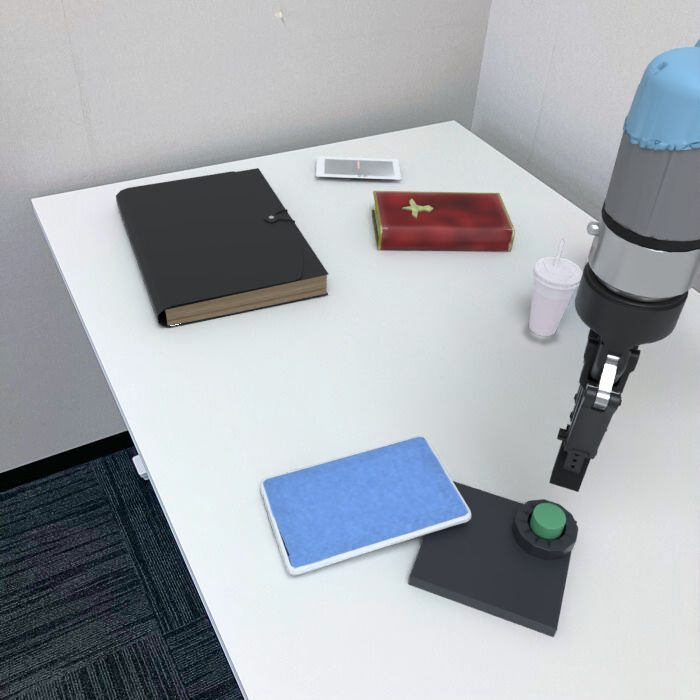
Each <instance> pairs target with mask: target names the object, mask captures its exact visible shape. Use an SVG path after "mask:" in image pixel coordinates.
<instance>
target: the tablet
mask: <svg viewBox="0 0 700 700" xmlns="http://www.w3.org/2000/svg"><path fill="white" fill-rule="evenodd" d="M453 481H454V480H453V479H452V478H451V476H450V474H449V473H448V471H447V469H446V467H445V466H444V465H443V463H442V461H441V460H440V458H439V456H438V454H437V453H436V451H435V449H434V448H433V446H432V444H431V443H430V441H429V439H428V438H426V437H425V436H422V435H417V436H413V437H409V438H405V439H402V440H399V441H395V442H392V443H388V444H385V445H381V446H377V447H374V448H369V449H367V450H363V451H359V452H356V453H351V454H348V455H344V456H342V457H341V456H340V457H337V458H333V459H330V460H326V461H324V462H320V463H316V464H312V465H308V466H306V467H302V468H298V469H294V470H291V471H287V472H284V473H280V474H276V475H273V476H269V477H266V478H264V479H262V480H261V482H260V483H259V491H260V495H261V498H262V500H263V504H264V507H265V511H266V513H267V516H268V519H269V522H270V525H271V528H272V531H273V535H274V537H275V541H276V543H277V546H278V549H279V552H280V555H281V558H282V561H283V565H284V567H285V569H286V572H287V573H288V574H289V575H290V576H294V577H295V576H301V575H303V574H307V573H310V572H313V571H315V570H318V569H322V568H324V567H327V566H330V565H334V564H335V563H339V562H343V561H345V560H349V559H352V558H355V557H359V556H361V555H364V554H367V553H370V552H374V551H376V550H381V549H383V548H387V547H390V546H394V545H397V544H400V543H403V542H406V541H409V540H413V539H415V538H416V539H417V538H419V537H423V536H425V534H429V533H432V532H435V531H439V530H442V529H445V528H448V527H451V526H455V525H459V524H462V523H465V522H468V521H469V520H470V519H471V511H470V509H469V507H468V506H467V504H466V502H465V501H464V499H463V497H462V496H461V494H460V492H459V491H458V489H457V488H456V486H455V484H454V483H453Z"/></svg>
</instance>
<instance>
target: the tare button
mask: <svg viewBox="0 0 700 700" xmlns="http://www.w3.org/2000/svg"><path fill="white" fill-rule="evenodd" d="M565 523H566V516H565V513H564V512H563V511H562V509H561V508H559V507H558V506H556V505H554V504H551V503H541V504H539V505H537V506H536V507H535V508H534V511H533V514H532V517H531V520H530V526H531V529H532V531H533V532H534V533H535V534H536V535H537V536H539V537H541V538H544V539H555V538H557V537H559V536H560V535H561V533H562V531H563V528H564V525H565Z"/></svg>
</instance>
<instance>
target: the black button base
mask: <svg viewBox="0 0 700 700" xmlns="http://www.w3.org/2000/svg"><path fill="white" fill-rule="evenodd" d="M452 481H453V483H454V484H455V486H456V488H457V489H458V491H459V492H460V494H461V496H462V497H463V499H464V501H465V502H466V504H467V506H468V507H469V509H470V511H471V519H470V520H469V521H468V522H465V523H462V524H459V525H455V526H451V527H448V528H445V529H442V530H439V531H435V532H432V533H429V534H425V535H423V536H424V537H423V539H422V542H421V544H420V547H419V549H418V553H417V555H416V558H415V561H414V563H413V565H412V569H411V571H410V574H409V578H408V584H407V585H409V586H410V587H414V588H417V589H420V590H422V591H425V592H428V593H431V594H433V595H436V596H439V597H441V598H444V599H447V600H449V601H452V602H455V603H458V604H460V605H464V606H465V607H469V608H472V609H474V610H477V611H480V612H483V613H485V614H487V615H488V614H489V615H491V616H493V617H496V618H499V619H501V620H504V621H507V622H510V623H513V624H516V625H518V626H521V627H524V628H527V629H529V630H532V631H535V632H537V633H540V634H543V635H545V636H548V637H551V638H554V637H555V636H556V633H557V631H558V626H559V622H560V615H561V610H562V604H563V600H564V594H565V588H566V583H567V578H568V572H569V567H570V562H571V557H572V551H573V549H574V547H575V545H576V542H577V540H578V539H577V538H578V533H579V526H578V521H577V520H575V518H574V515H573V514H572V513H571V512H570V511H569V510H568V509H566V508H565V507H564V506H563V505H561V504H560V503H558V502H554V501H551V500H549V499H545V498H543V499H541V498H540V499H532V500H528V501H526V502H524V503H522V502H520V501H516V500H513V499H510V498H508V497H503V496H501V495H498V494H495V493H491V492H489V491H485V490H482V489H480V488H475V487H473V486H470V485H467V484H465V483H461V482H458V481H455V480H452ZM541 503H551V504H554V505H556V506H558V507H559V508H561V509H562V511H563V512H564V513H565V516H566V523H565V525H564V528H563V531H562V533H561V535H560V536H559V537H557V538H555V539H544V538H541V537H539V536H537V535H536V534H535V533H534V532H533V531H532V529H531V526H530V520H531V517H532V514H533V511H534V508H535V507H536V506H537V505H539V504H541Z"/></svg>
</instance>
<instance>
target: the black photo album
mask: <svg viewBox="0 0 700 700" xmlns="http://www.w3.org/2000/svg"><path fill="white" fill-rule="evenodd" d="M115 201H116V205H117V208H118V210H119V214H120V216H121V218H122V220H121V221H122V223H123V226H124V228H125V231H126V234H127V237H128V240H129V242H130V245H131V248H132V251H133V255H134V257H135V260H136V263H137V265H138V269H139V272H140V274H141V278H142V280H143V283H144V286H145V289H146V292H147V295H148V297H149V301H150V304H151V307H152V310H153V312H154V314H155V318H156V321H157V324H159V325H161V326H162V327H164V328H165V327H166V328H172V327H171V326H170V325H175V324H179V325H181V326H185V324H186V325H190V324H195V323H199V322H205V321H208V320H214V319H218V318H223V317H227V316H228V317H229V316H232V315H237V314H241V313H246V312H251V311H255V310H262V309H266V308H270V307H275V306H279V305H285V304H290V303H294V302H298V301H303V300H308V299H314V298H319V297H323V296H327V295H329V293H328V289H327V288H328V287H327V284H328V283H327V282H328V275H329V272H328V271H327V269H326V268H325V266H324V265H323V263H322V262H321V260H320V259H319V257H318V255H317V254H316V253H315V251H314V250H313V248H312V247H311V245H310V243H309V242H308V241H307V239H306V237H305V236H304V235H303V233H302V231H301V230H300V228H299V227H298V226H297V224H296V220H294V219H293V218H292V216H291V215H290V213H289V211H288V209H286V207H285V206H284V204H283V203H282V202H281V200H280V198H279V197H278V195H277V193H276V192H275V191H274V189H273V188H272V187H271V185H270V183H269V182H268V180H267V179H266V177H265V176H264V174H263V172H262V171H261V170H260V168H259V167H257V168H250V169H245V170H237V171H235V170H233V171H225V172H219V173H218V172H217V173H213V174H205V175H200V176H194V177H193V176H192V177H188V178H187V177H186V178H182V179H175V180H169V181H163V182H155V183H150V184H143V185H137V186H130V187H126V188H123V189H122V190H120V191H119V192H117V194H116V195H115ZM180 323H181V324H180ZM176 327H178V326H177V325H176Z"/></svg>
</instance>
